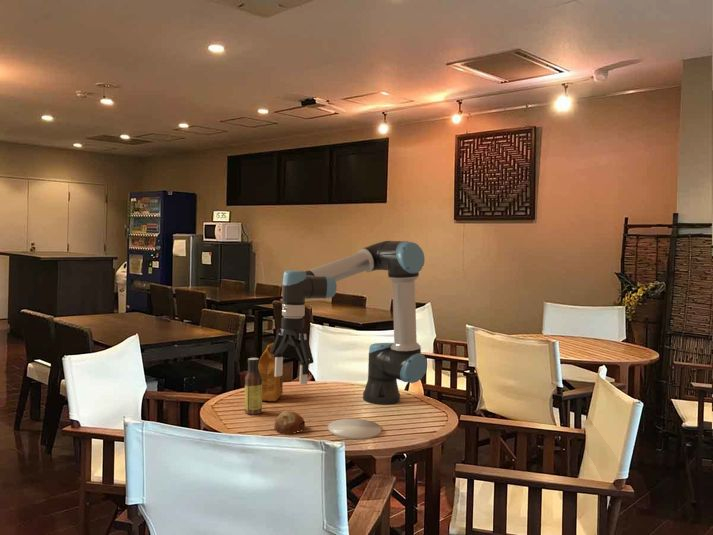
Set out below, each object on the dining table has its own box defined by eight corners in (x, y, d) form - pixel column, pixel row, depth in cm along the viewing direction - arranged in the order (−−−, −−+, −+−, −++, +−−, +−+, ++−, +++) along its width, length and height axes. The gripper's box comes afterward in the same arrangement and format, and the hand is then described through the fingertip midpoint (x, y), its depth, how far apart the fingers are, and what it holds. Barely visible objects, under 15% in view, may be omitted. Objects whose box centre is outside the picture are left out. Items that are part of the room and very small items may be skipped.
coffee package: (286, 396, 243) (288, 342, 242) (276, 404, 231) (278, 347, 230) (263, 393, 245) (265, 340, 244) (252, 401, 233) (253, 345, 232)
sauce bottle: (265, 412, 220) (267, 358, 219) (255, 416, 214) (257, 361, 213) (250, 409, 222) (252, 356, 222) (240, 413, 217) (242, 358, 216)
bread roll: (280, 435, 206) (270, 414, 205) (307, 422, 206) (298, 402, 206) (278, 445, 196) (268, 423, 195) (307, 432, 197) (297, 410, 196)
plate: (355, 419, 215) (355, 415, 215) (392, 432, 202) (392, 428, 202) (317, 428, 203) (317, 425, 203) (353, 443, 190) (353, 439, 190)
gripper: (262, 313, 206) (259, 374, 207) (307, 322, 188) (305, 389, 189) (279, 311, 211) (277, 371, 212) (326, 320, 193) (323, 386, 194)
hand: (290, 380), depth 200 cm, fingers open, 13 cm apart
